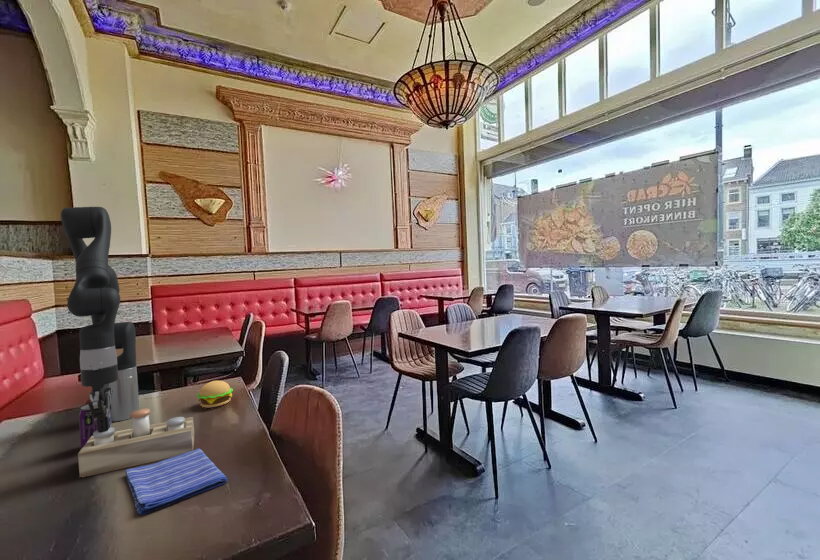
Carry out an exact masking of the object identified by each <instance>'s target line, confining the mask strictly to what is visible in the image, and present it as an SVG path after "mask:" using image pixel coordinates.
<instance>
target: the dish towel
mask: <svg viewBox="0 0 820 560" xmlns="http://www.w3.org/2000/svg"><path fill="white" fill-rule="evenodd" d="M125 476H126V477H125V478H126V480H127V484H128V487H129V489H130V492H131V494H132V498H133V497H134V498H133V500H135V501H136V502H135V501H134V506H135V508H137V509H136V512H137V514H138V516H143V515H146V514H149V513H152V512H154V510H155V511H157V510H159V509H162V508H165V507H167V506H171V505H173V504H176V503H179V502H180V501H183V500H186V499H188V498H191V497H193V496H196V495H199V494H202V493H205V492H207V491H210V490H212V489H214V488H217V487H220V486H224V485H225V484H226V483H227V482H228V477H227V476H226V475H225V474H224V473H223V471H221V470H220V469H219V468H218V467H217V466H216V464H215V463H214V462H213V461H212V460H211V459H210V457H208V456H207V454H205V452H204V451H203V450H202V449H201V448H195V449H193V451H190V452H187V453H184V454H181V455H178V456H175V457H171V458H167V459H162V460H159V461H158V462H157V461H156V462H155V463H154V462H153V463H152V464H147V465H141V466H136V467H134V468H132V467H131V468H128V469H125ZM156 509H157V510H156ZM151 511H152V512H151Z"/></svg>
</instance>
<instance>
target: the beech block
mask: <svg viewBox="0 0 820 560" xmlns="http://www.w3.org/2000/svg"><path fill="white" fill-rule="evenodd" d="M184 418H185V422H184V428H181V429H176V430H171V431H168V426H166V421H165V422H157V423H153V424H149V425H150V435H146V436H141V437H136V438H133V430H132V428H128V429H123V430H118V431H117V430H116V431H115V433H114V442H111V443H106V444H101V445H96V446H95V438H93V436H91V438H90V439H89V440H88V441H87V443H86V444H85V445H84V447H83V448H82V449H81V448H80V450H79V452H78V453H77V457H78V470H79V472H78V473H79V478H80V477H82V478H87V477H90V476H91V477H92V476H95V475H100V474H104V473H108V472H113V471H117V470H121V469H125V468H130V467H131V468H132V467H135V466H136V467H137V466H139V465H144V464H149V463H152V462H153V463H154V462H157V461H158V462H159V461H163V460H166V459H169V458H172V457H175V456H178V455H181V454H184V453H187V452H190V451H193V450H194V445H195V444H194V443H195V426H194V425H195V421H194V417H193V416H191V417H184ZM86 476H87V477H86Z"/></svg>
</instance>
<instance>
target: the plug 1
mask: <svg viewBox="0 0 820 560" xmlns="http://www.w3.org/2000/svg"><path fill="white" fill-rule="evenodd" d="M115 429H116V428H115V427H111V428H109V429H108V431H105V432H98V430H97V431H95V432H94V433H93V438H95V446H96V445H101V444H106V443H111V442H114V433H115V432H116V431H115Z"/></svg>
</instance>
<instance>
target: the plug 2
mask: <svg viewBox="0 0 820 560" xmlns="http://www.w3.org/2000/svg"><path fill="white" fill-rule="evenodd" d="M185 418H186V417H184V416H176V417H173V418H170V419H167V420H166V421H165V422H166V426H168V431H171V430H176V429H181V428H184V422H185Z"/></svg>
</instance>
